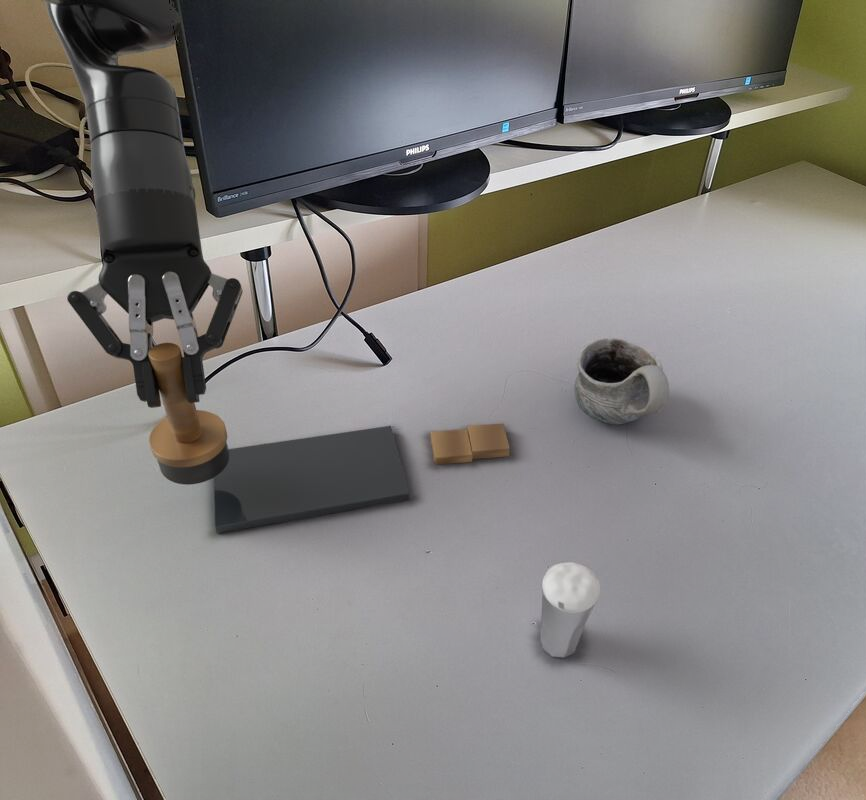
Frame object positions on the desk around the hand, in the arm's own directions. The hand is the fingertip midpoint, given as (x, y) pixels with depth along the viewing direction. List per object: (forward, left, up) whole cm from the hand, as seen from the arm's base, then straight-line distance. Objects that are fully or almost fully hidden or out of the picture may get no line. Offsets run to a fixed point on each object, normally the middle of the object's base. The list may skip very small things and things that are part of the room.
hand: (174, 403), depth 63 cm
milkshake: (+28, -22, -14) cm, 38 cm away
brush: (0, +2, -9) cm, 9 cm away
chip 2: (+29, +3, -14) cm, 32 cm away
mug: (+45, +4, -14) cm, 47 cm away
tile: (+10, +2, -14) cm, 17 cm away
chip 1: (+25, +3, -14) cm, 29 cm away
